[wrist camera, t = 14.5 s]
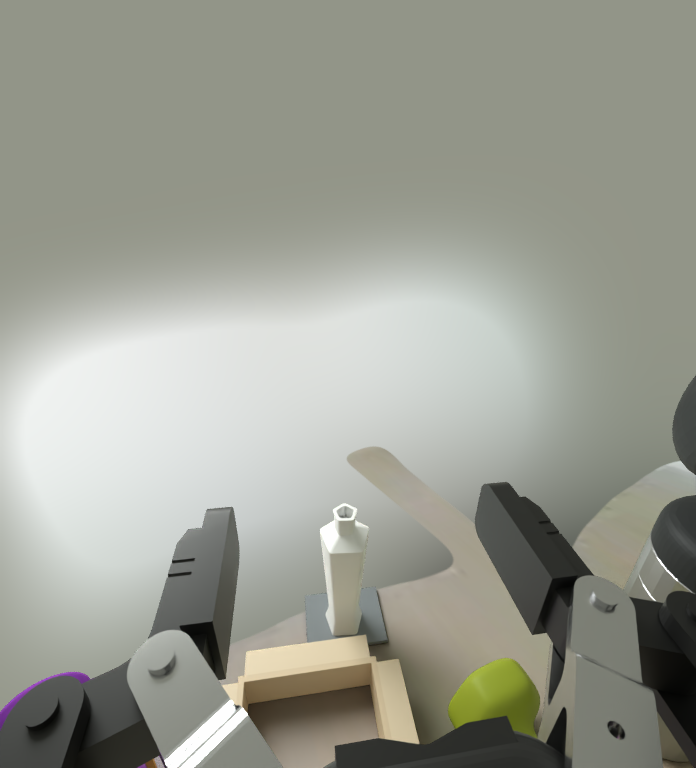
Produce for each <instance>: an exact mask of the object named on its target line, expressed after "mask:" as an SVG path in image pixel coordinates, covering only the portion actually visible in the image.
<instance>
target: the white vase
mask: <svg viewBox="0 0 696 768" xmlns="http://www.w3.org/2000/svg"><path fill="white" fill-rule="evenodd" d="M333 513H334V515H335V520H334V521H333V522H331V523H329V524H328V525H326V526H324V527H323V528H321V529H320V535H321V544H322V552H323V561H324V568H325V577H326V586H327V594H328V603H329V607H328V610H327V612H326V618H327V621H328V624H329V627H330V630H331V632H332V635H334V636H339V635H355V634H357V632H358V628H359V624H360V620H361V616H362V612H361V609H360V606H359V601H360V593H361V586H362V578H363V571H364V563H365V555H366V548H367V541H368V533H369V528H368V527H367V526H365V525H363V524H361V523H359V522H357V521H355V516H356V513H357V509H356V508H354V507H352V506H350V505H348V504H342V505H340V506H338V507H336V508H335V509H333Z"/></svg>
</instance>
